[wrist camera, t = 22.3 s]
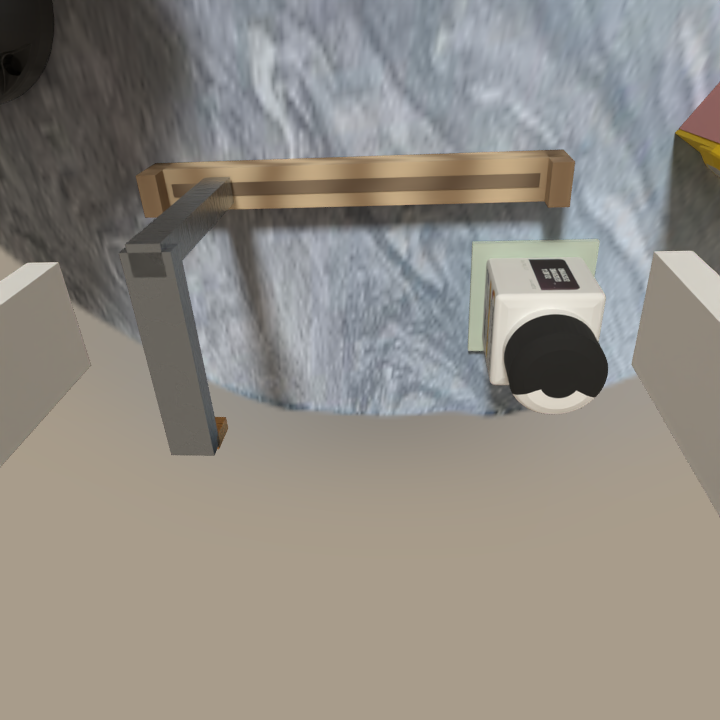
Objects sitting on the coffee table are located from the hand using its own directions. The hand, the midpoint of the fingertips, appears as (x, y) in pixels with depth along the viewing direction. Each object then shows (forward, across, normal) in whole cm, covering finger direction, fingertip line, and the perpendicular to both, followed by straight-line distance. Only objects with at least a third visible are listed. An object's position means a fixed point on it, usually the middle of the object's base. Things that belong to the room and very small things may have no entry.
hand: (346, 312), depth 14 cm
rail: (+37, -4, -6) cm, 37 cm away
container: (+36, +11, -16) cm, 41 cm away
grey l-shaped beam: (+34, -14, -13) cm, 39 cm away
